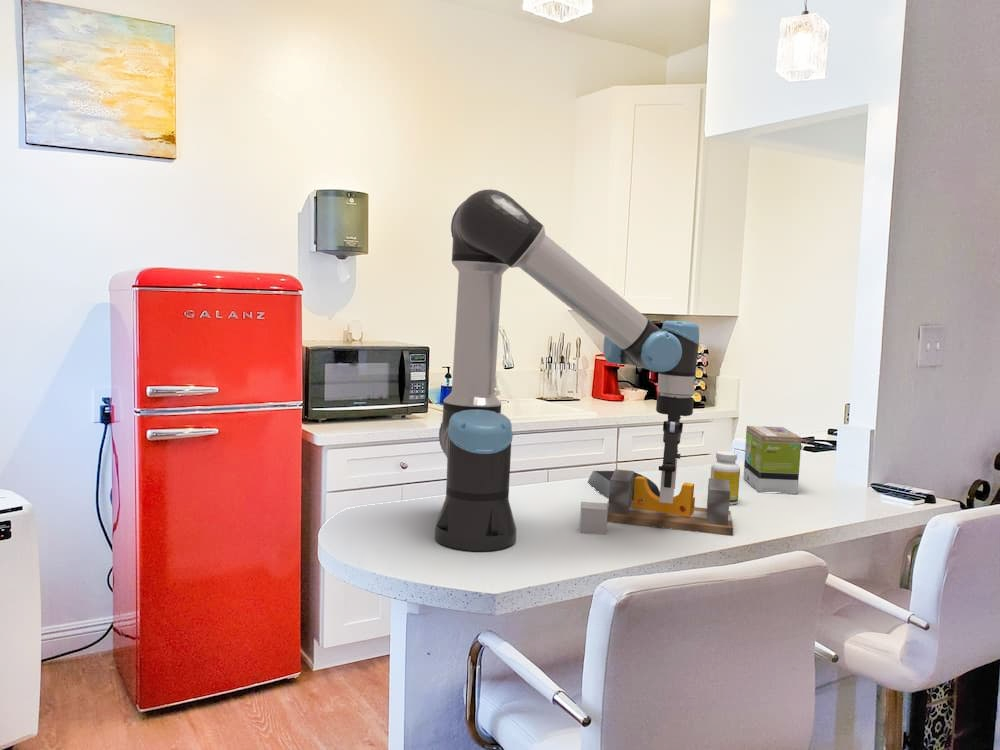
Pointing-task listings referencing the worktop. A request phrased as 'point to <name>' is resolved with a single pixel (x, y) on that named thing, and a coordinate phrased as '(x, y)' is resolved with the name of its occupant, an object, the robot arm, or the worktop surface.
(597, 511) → the block
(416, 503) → the worktop surface
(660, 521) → the rail board
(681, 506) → the pipe clamp
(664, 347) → the robot arm
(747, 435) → the tea box
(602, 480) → the dark piece
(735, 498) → the pill bottle
